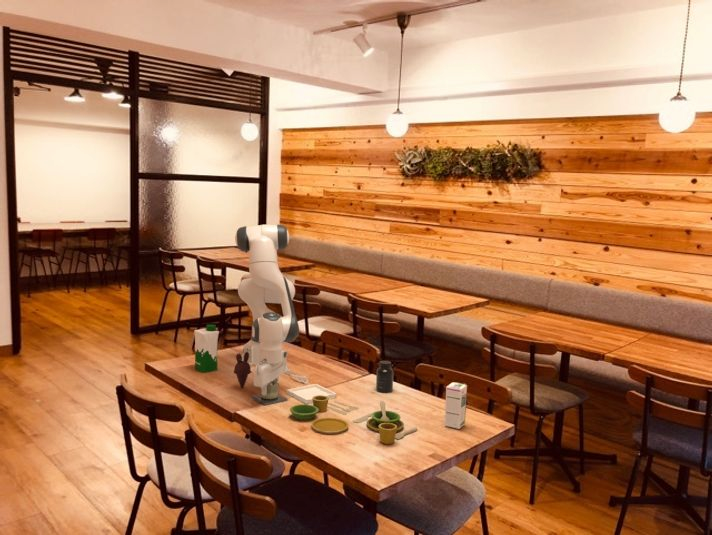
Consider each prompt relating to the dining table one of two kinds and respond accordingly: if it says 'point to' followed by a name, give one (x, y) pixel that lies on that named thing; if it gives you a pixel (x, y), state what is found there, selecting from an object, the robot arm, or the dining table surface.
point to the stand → (268, 401)
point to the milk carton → (206, 349)
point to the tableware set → (380, 421)
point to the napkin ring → (271, 391)
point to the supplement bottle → (384, 377)
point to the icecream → (242, 368)
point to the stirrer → (297, 376)
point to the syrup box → (455, 405)
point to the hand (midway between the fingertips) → (269, 391)
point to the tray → (310, 393)
